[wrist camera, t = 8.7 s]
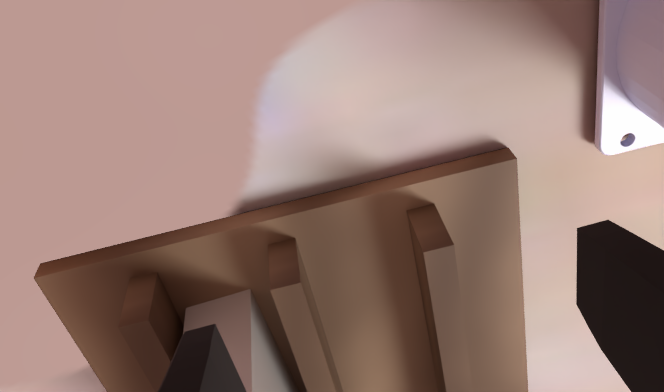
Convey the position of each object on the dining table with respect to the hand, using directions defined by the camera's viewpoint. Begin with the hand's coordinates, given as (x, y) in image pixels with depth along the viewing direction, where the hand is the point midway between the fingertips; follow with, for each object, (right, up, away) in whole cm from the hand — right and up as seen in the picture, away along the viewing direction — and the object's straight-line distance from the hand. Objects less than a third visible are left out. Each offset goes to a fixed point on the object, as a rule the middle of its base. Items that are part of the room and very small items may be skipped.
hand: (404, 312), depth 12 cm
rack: (-2, -5, +14) cm, 15 cm away
